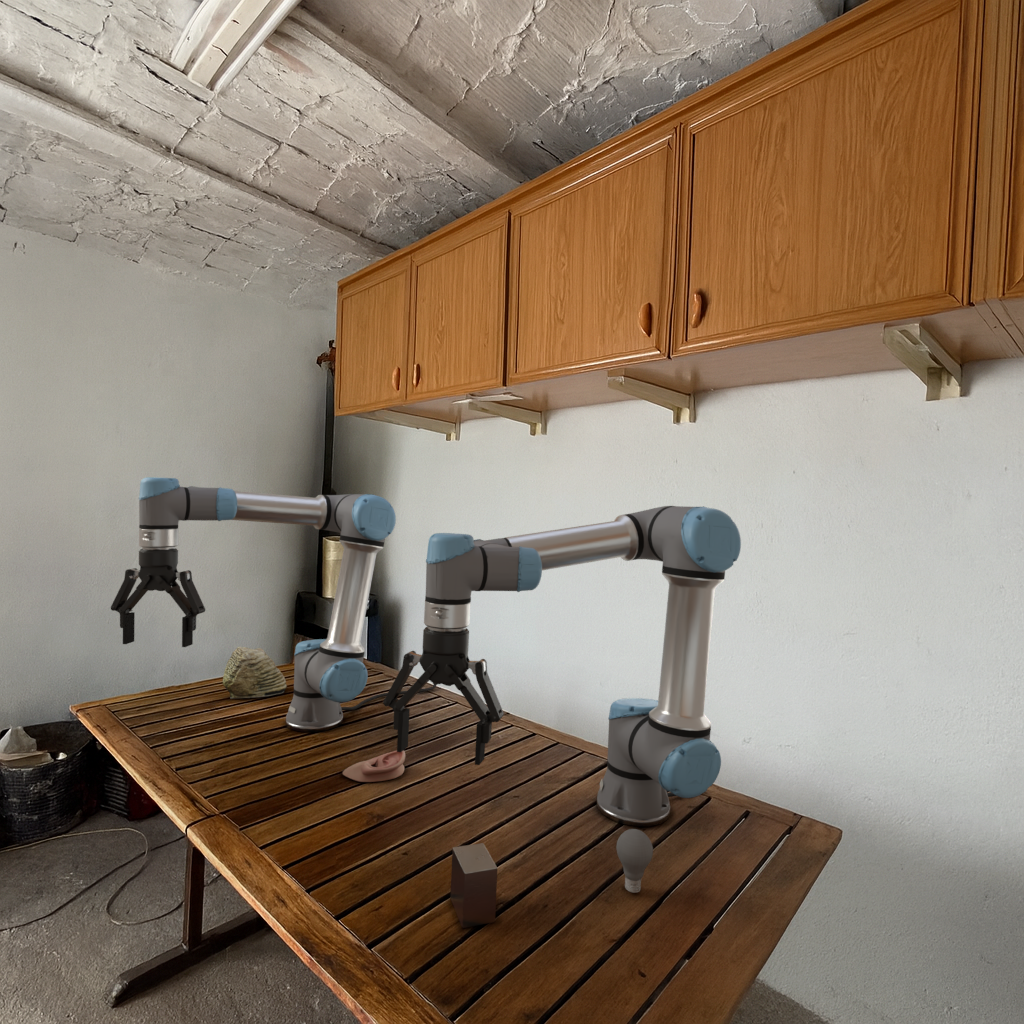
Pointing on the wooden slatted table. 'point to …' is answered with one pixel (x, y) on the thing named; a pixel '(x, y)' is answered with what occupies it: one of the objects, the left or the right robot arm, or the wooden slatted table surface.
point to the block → (473, 885)
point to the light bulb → (634, 857)
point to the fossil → (252, 674)
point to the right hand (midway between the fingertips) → (440, 755)
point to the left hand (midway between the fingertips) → (157, 644)
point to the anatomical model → (377, 768)
